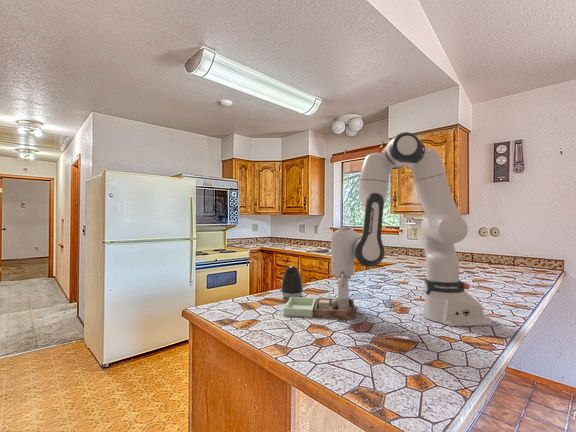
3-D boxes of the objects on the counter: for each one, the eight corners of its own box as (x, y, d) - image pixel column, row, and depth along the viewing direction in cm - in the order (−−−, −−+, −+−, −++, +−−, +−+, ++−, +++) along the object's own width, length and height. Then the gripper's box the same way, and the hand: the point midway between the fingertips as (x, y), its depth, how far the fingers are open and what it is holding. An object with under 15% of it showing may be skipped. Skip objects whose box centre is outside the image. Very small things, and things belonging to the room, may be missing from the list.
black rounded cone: (277, 300, 137) (277, 267, 137) (286, 294, 147) (285, 263, 147) (298, 302, 133) (298, 268, 133) (306, 296, 143) (305, 264, 143)
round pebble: (339, 306, 125) (339, 298, 125) (339, 309, 121) (339, 300, 121) (330, 306, 125) (330, 297, 125) (330, 308, 122) (330, 300, 122)
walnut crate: (353, 307, 125) (353, 299, 125) (355, 321, 110) (355, 311, 110) (317, 306, 128) (317, 297, 128) (314, 319, 112) (313, 309, 112)
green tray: (316, 306, 128) (316, 297, 128) (312, 319, 112) (312, 309, 112) (290, 304, 130) (290, 296, 130) (283, 317, 114) (283, 308, 114)
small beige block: (348, 306, 119) (348, 296, 119) (348, 309, 115) (348, 299, 115) (338, 306, 119) (338, 296, 119) (338, 309, 116) (338, 299, 115)
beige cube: (329, 309, 120) (329, 300, 120) (329, 313, 116) (329, 302, 116) (319, 309, 121) (319, 299, 121) (318, 312, 117) (318, 302, 117)
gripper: (351, 275, 106) (352, 314, 106) (350, 265, 126) (350, 298, 126) (333, 275, 107) (334, 313, 107) (334, 265, 128) (335, 297, 128)
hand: (343, 305), depth 117 cm, fingers closed on small beige block, 4 cm apart
